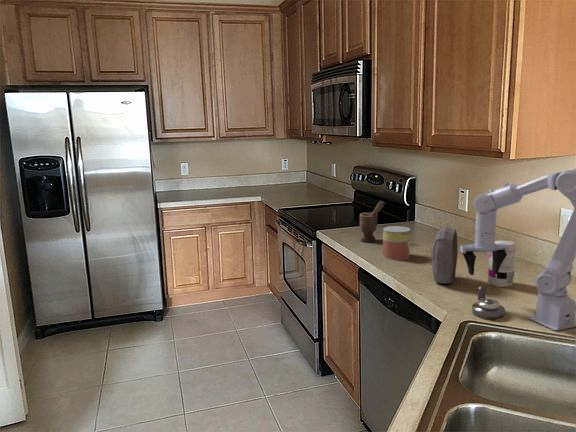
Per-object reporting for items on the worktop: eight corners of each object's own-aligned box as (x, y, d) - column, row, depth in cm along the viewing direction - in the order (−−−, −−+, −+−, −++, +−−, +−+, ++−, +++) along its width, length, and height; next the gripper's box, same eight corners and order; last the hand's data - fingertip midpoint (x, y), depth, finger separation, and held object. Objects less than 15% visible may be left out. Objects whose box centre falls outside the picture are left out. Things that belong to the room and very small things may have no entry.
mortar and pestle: (382, 238, 232) (383, 198, 228) (384, 243, 224) (385, 201, 220) (358, 238, 233) (359, 198, 229) (360, 243, 225) (360, 201, 221)
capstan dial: (502, 310, 139) (503, 297, 138) (482, 310, 139) (483, 297, 138) (489, 298, 148) (490, 285, 147) (470, 298, 148) (471, 286, 147)
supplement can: (483, 284, 167) (486, 243, 164) (493, 278, 172) (496, 238, 169) (507, 289, 161) (510, 247, 158) (516, 283, 167) (519, 242, 163)
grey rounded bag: (451, 288, 163) (453, 232, 159) (426, 285, 167) (428, 230, 163) (457, 275, 176) (459, 223, 172) (434, 272, 180) (436, 221, 176)
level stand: (511, 316, 139) (511, 310, 139) (486, 321, 136) (486, 315, 136) (489, 306, 148) (489, 299, 147) (465, 310, 145) (465, 303, 144)
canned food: (410, 260, 196) (410, 232, 194) (382, 259, 198) (382, 231, 196) (409, 252, 207) (409, 226, 205) (382, 252, 209) (383, 225, 207)
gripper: (501, 227, 150) (499, 268, 153) (457, 229, 150) (455, 270, 153) (513, 233, 144) (510, 275, 146) (466, 234, 143) (464, 277, 146)
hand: (483, 273), depth 149 cm, fingers open, 7 cm apart
